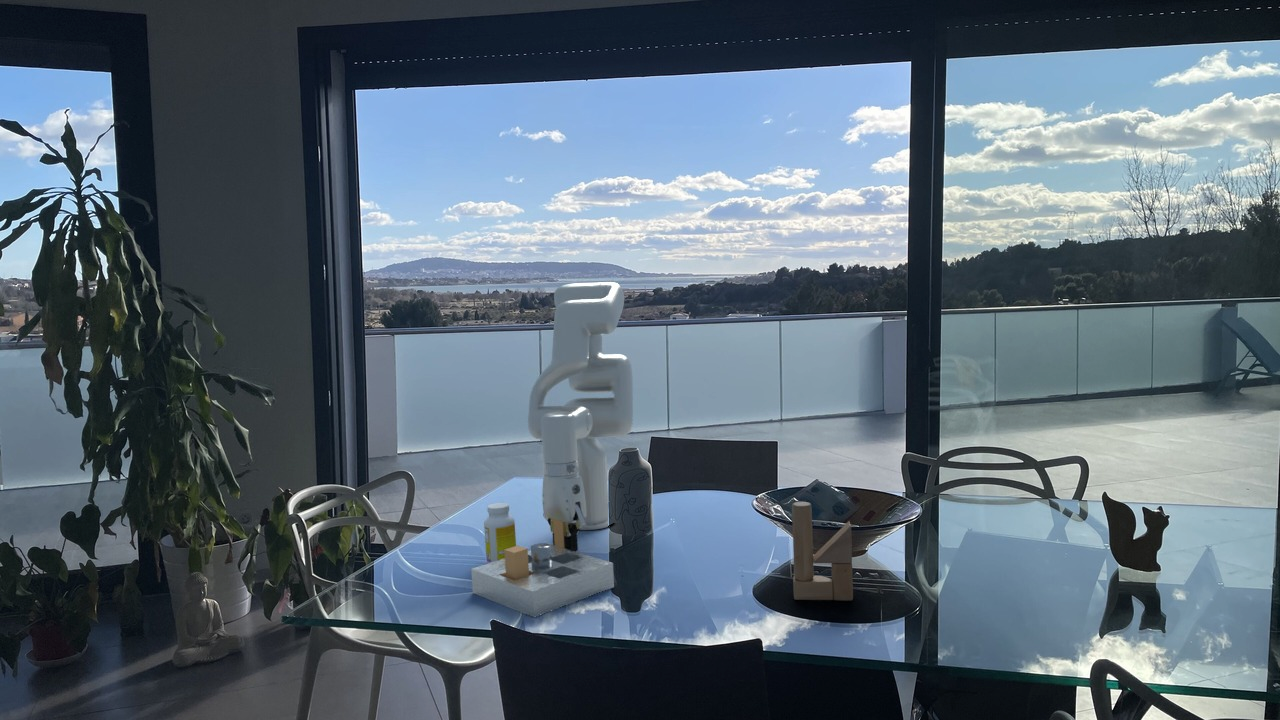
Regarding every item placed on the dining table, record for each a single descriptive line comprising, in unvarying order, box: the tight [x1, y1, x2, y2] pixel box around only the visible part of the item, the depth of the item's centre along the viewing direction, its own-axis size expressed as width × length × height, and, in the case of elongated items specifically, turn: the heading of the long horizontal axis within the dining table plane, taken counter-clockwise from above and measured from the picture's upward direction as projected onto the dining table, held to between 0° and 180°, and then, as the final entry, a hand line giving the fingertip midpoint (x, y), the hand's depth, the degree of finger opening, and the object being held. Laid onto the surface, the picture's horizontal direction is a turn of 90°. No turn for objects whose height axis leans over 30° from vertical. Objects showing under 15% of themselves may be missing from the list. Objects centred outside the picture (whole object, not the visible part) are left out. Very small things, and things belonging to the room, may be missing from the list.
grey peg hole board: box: [470, 542, 615, 618], centre depth 178 cm, size 20×20×9 cm
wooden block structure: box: [791, 501, 854, 602], centre depth 167 cm, size 4×11×18 cm, turn 82°
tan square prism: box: [553, 519, 573, 548], centre depth 196 cm, size 3×3×10 cm
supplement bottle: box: [483, 502, 517, 564], centre depth 196 cm, size 7×7×13 cm
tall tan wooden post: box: [504, 545, 529, 581], centre depth 174 cm, size 3×3×10 cm
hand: (565, 550), depth 197 cm, fingers closed on tan square prism, 3 cm apart
